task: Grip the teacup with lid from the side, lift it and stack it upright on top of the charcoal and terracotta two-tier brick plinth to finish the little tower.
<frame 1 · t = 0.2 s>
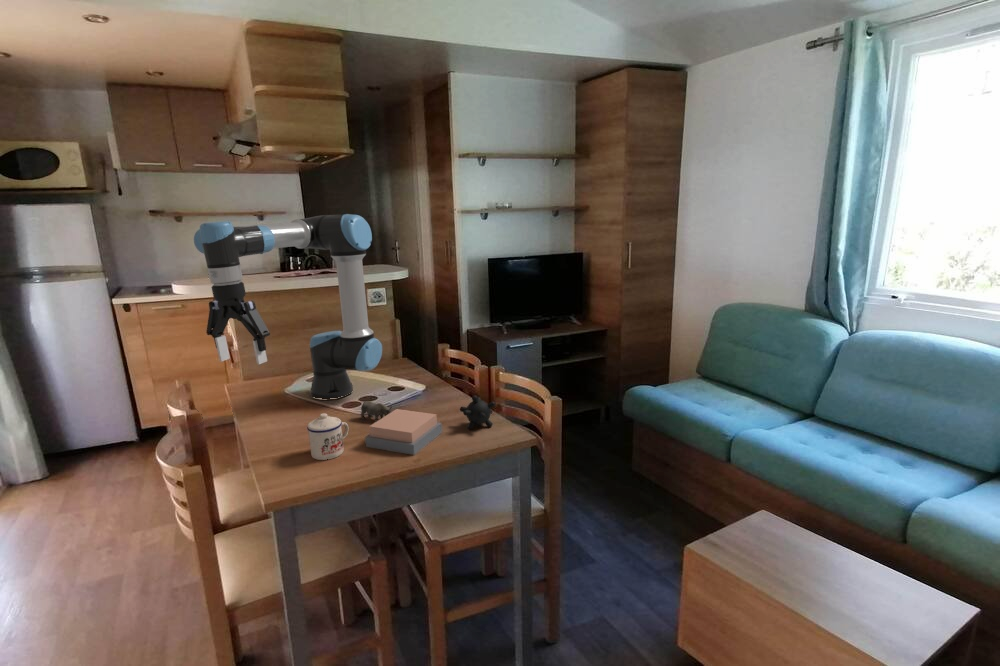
hand: (243, 361, 141), 27 cm above the table, tool pointing down, fingers open, 13 cm apart
rhino figurine: (379, 421, 170), on the table
brick plinth: (405, 439, 155), on the table
teacup with lid: (332, 452, 148), on the table
toy ball: (477, 426, 163), on the table
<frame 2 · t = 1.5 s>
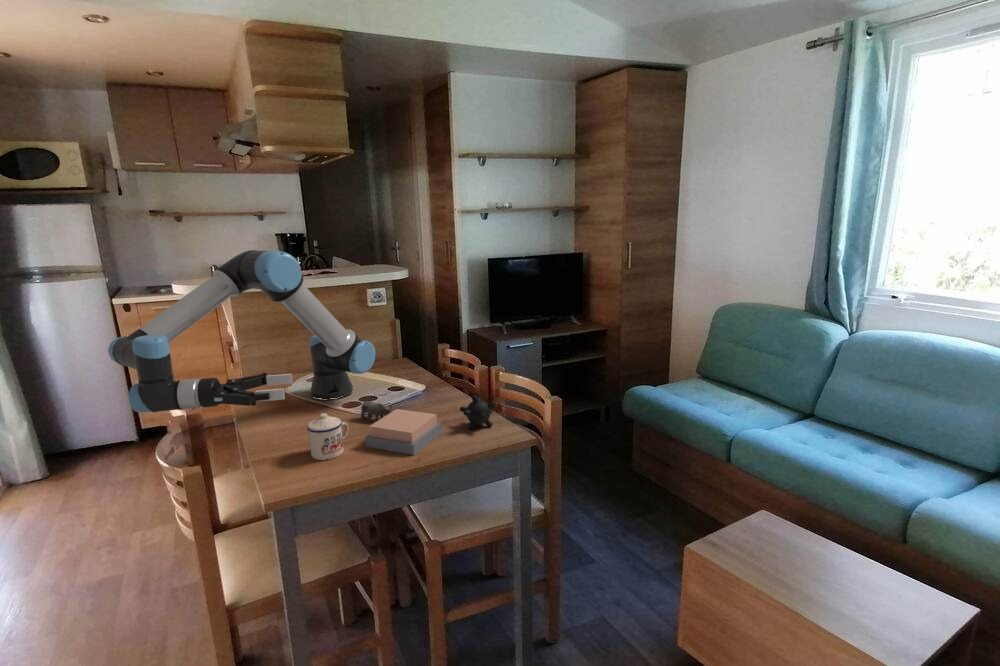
hand: (288, 385, 141), 21 cm above the table, tool horizontal, fingers open, 13 cm apart
nothing on the table moved.
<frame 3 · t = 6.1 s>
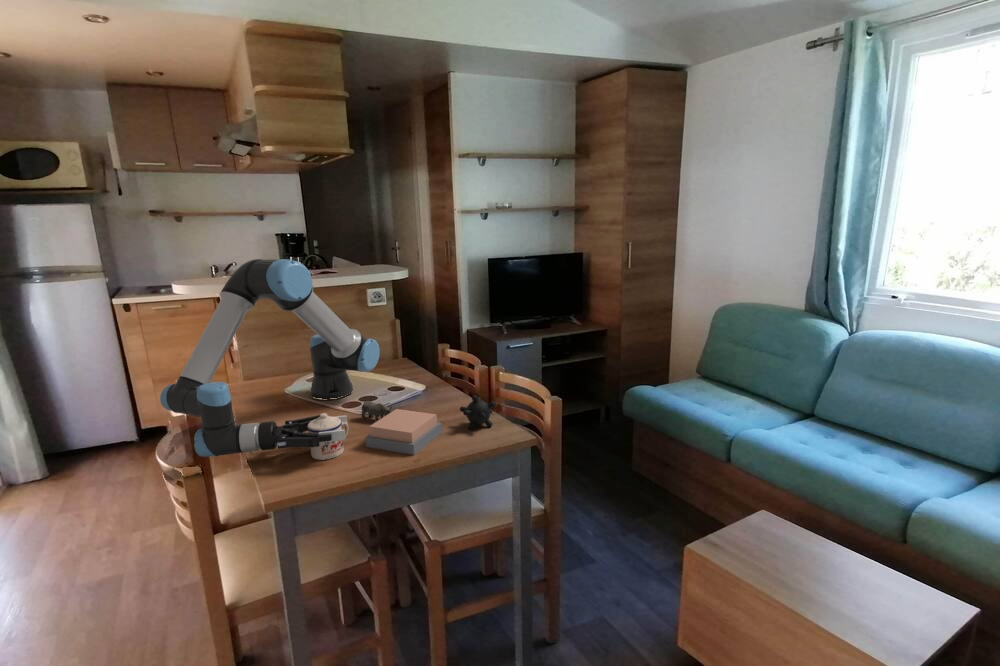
hand: (345, 427, 147), 7 cm above the table, tool horizontal, fingers closed on teacup with lid, 10 cm apart
teacup with lid: (332, 452, 148), on the table, touching gripper
everything else where it was.
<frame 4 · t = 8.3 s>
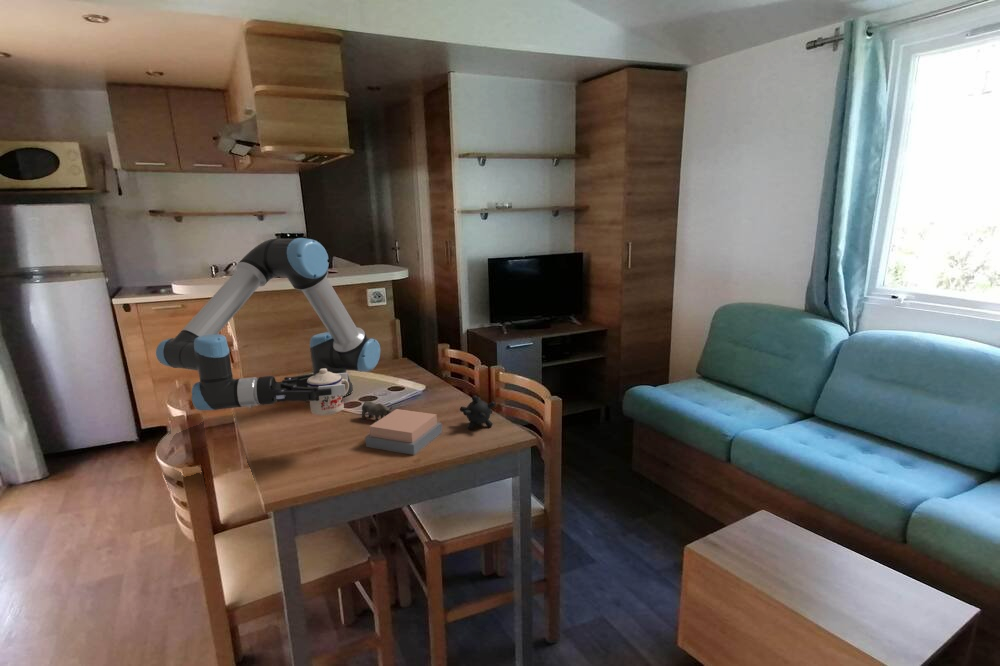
hand: (346, 383, 144), 20 cm above the table, tool horizontal, fingers closed on teacup with lid, 10 cm apart
teacup with lid: (332, 408, 145), point 13 cm above the table, touching gripper
everything else where it was.
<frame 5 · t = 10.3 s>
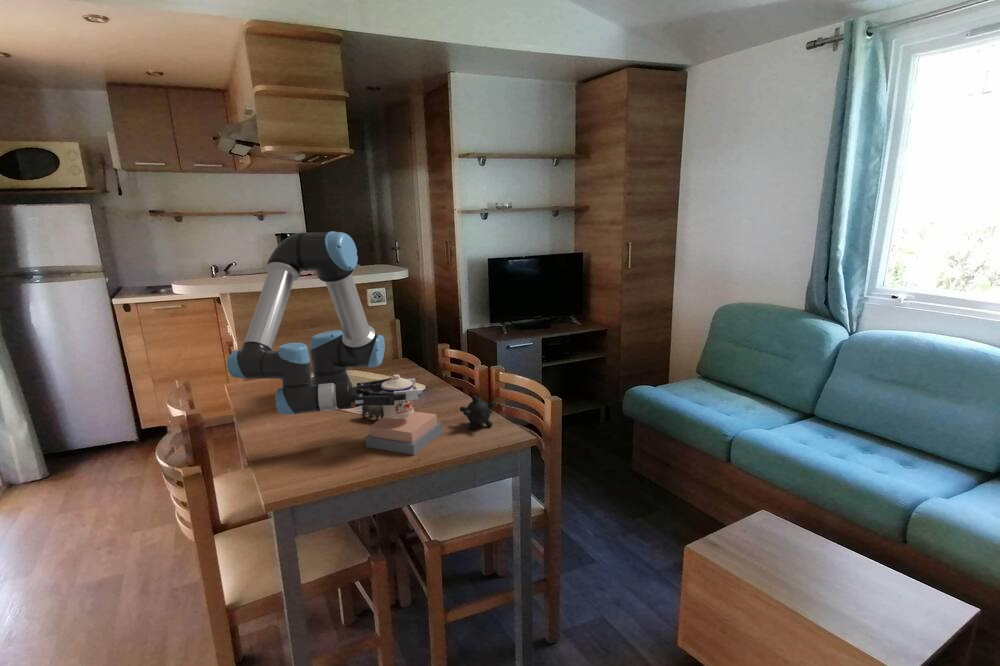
hand: (416, 388, 152), 15 cm above the table, tool horizontal, fingers closed on teacup with lid, 10 cm apart
teacup with lid: (402, 412, 153), point 8 cm above the table, touching gripper
everything else where it was.
when the fingers open (14 cm above the table, at t = 10.9 s): teacup with lid drops 1 cm, resting on brick plinth.
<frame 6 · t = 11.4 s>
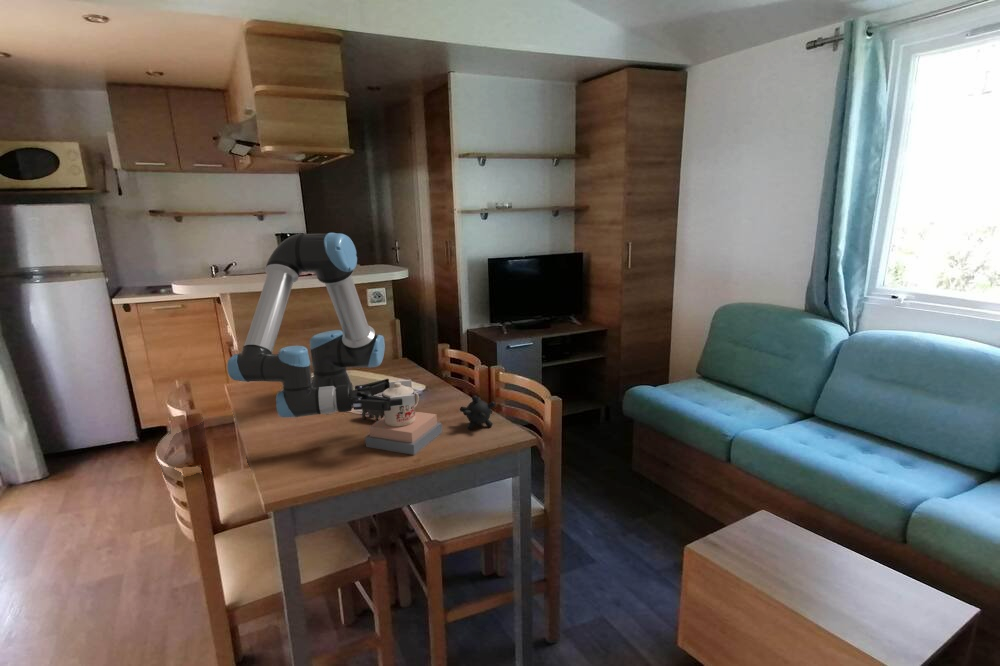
hand: (413, 391, 152), 14 cm above the table, tool horizontal, fingers open, 13 cm apart
teacup with lid: (404, 420, 154), point 6 cm above the table, touching brick plinth
everything else where it was.
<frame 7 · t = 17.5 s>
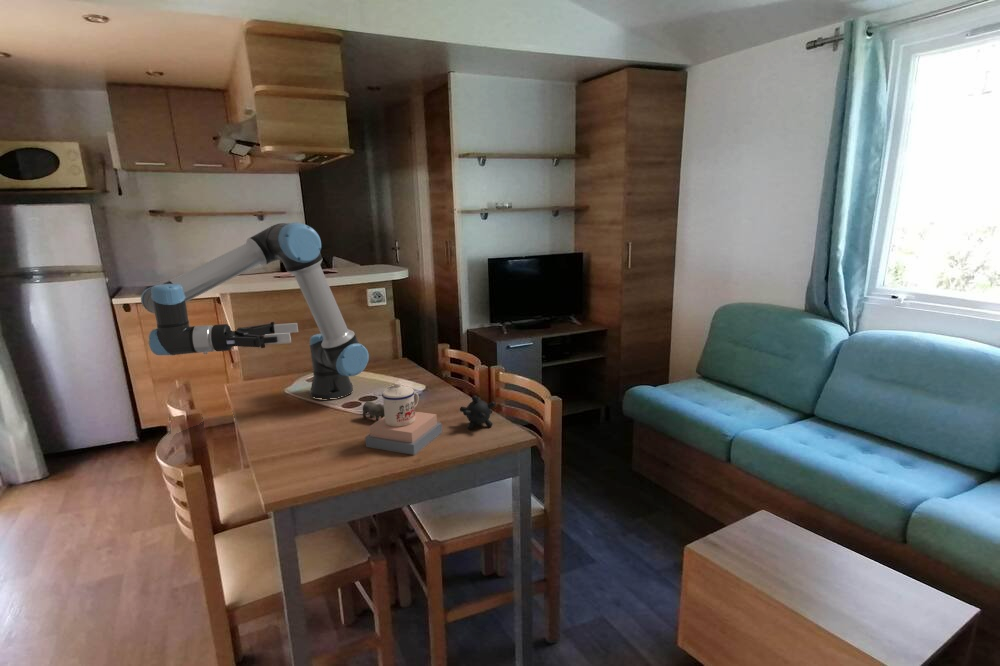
hand: (294, 332, 152), 32 cm above the table, tool horizontal, fingers open, 13 cm apart
nothing on the table moved.
at the end: teacup with lid inside the target area on the brick plinth (0.4 cm from its centre), point 5.8 cm above the brick plinth's base; teacup with lid tilted 0°; the gripper is holding nothing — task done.
